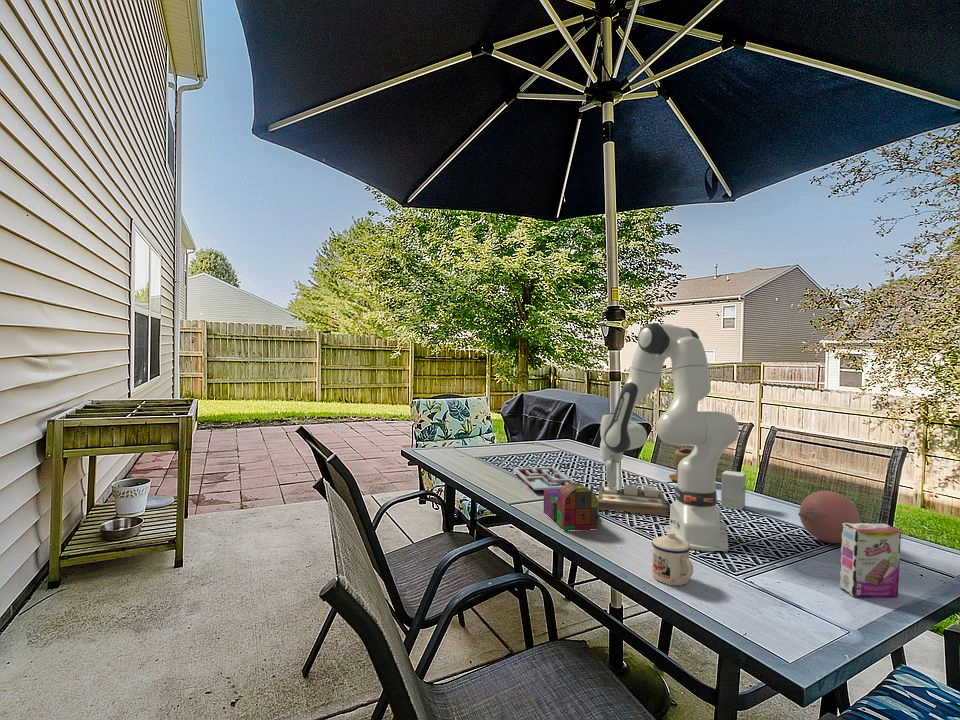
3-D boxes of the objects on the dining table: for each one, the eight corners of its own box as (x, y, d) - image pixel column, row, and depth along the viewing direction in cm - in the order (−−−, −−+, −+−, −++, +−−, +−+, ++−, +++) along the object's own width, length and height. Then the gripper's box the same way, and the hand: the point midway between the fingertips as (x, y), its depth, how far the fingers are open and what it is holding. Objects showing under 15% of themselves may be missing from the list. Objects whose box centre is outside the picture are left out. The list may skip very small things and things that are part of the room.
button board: (667, 516, 177) (668, 506, 177) (598, 510, 182) (598, 500, 182) (661, 499, 198) (661, 490, 198) (598, 493, 204) (599, 485, 204)
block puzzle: (612, 529, 163) (613, 486, 163) (563, 532, 160) (564, 488, 160) (581, 506, 188) (582, 468, 188) (538, 508, 184) (539, 470, 184)
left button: (617, 498, 194) (617, 490, 194) (603, 497, 195) (604, 489, 195) (616, 495, 199) (617, 487, 199) (603, 494, 200) (604, 486, 200)
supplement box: (742, 510, 185) (742, 476, 184) (720, 506, 189) (721, 473, 189) (745, 506, 191) (746, 472, 190) (724, 502, 195) (725, 469, 195)
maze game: (512, 474, 236) (513, 468, 236) (552, 473, 239) (552, 466, 239) (534, 495, 201) (535, 488, 201) (581, 493, 205) (581, 486, 205)
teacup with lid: (643, 573, 130) (644, 528, 130) (672, 568, 134) (673, 525, 133) (676, 594, 119) (677, 545, 119) (706, 588, 122) (707, 541, 122)
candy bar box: (854, 598, 118) (856, 529, 118) (838, 588, 124) (840, 522, 123) (900, 598, 119) (902, 529, 119) (882, 588, 124) (884, 522, 124)
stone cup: (679, 485, 219) (680, 451, 219) (665, 478, 231) (666, 446, 230) (711, 484, 221) (712, 450, 221) (695, 478, 233) (696, 445, 233)
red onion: (775, 535, 159) (776, 487, 159) (824, 530, 164) (825, 484, 164) (819, 554, 144) (821, 501, 144) (872, 548, 150) (873, 497, 149)
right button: (658, 498, 190) (658, 490, 190) (644, 497, 191) (644, 488, 191) (656, 494, 195) (657, 486, 195) (643, 493, 196) (643, 485, 196)
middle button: (637, 496, 192) (637, 488, 192) (623, 495, 193) (624, 487, 193) (636, 493, 197) (636, 485, 197) (623, 492, 198) (623, 484, 198)
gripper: (620, 459, 186) (619, 496, 186) (619, 449, 206) (618, 482, 206) (602, 458, 188) (602, 495, 188) (603, 448, 207) (602, 481, 208)
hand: (610, 488), depth 197 cm, fingers closed, pressing on left button
